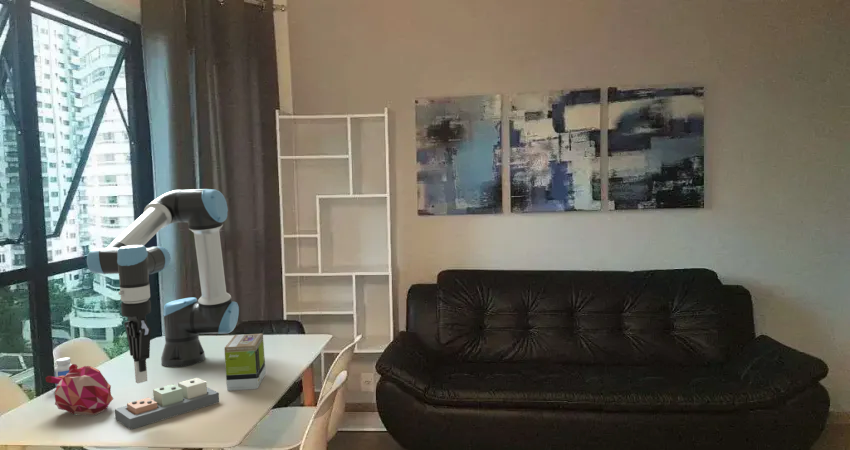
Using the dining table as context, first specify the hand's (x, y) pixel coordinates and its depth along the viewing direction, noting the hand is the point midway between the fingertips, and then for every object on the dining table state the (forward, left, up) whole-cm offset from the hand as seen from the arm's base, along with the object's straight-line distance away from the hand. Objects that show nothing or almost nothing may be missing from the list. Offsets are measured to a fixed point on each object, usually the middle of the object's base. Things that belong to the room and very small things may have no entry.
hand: (141, 381), depth 172 cm
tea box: (-4, +35, -11) cm, 37 cm away
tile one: (0, +15, -8) cm, 17 cm away
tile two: (0, +7, -8) cm, 11 cm away
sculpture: (-20, -10, -11) cm, 24 cm away
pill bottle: (-46, -7, -11) cm, 47 cm away
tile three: (0, 0, -10) cm, 10 cm away
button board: (0, +7, -11) cm, 13 cm away
